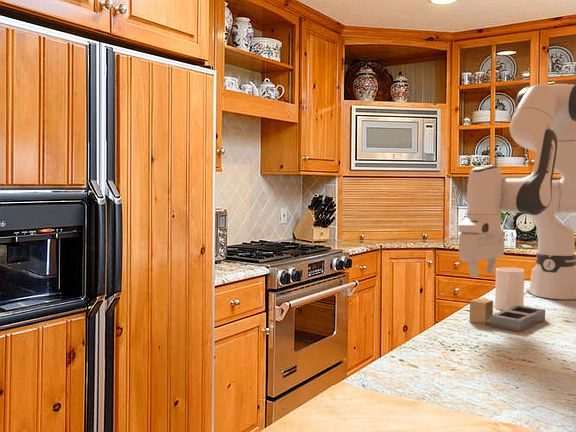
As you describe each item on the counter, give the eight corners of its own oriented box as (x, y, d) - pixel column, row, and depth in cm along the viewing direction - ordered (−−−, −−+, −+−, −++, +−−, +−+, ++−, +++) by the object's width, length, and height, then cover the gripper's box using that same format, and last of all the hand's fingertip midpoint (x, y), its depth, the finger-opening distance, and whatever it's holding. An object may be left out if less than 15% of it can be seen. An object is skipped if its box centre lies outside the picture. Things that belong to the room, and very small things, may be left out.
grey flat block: (516, 315, 159) (516, 305, 159) (545, 320, 154) (545, 309, 153) (490, 326, 147) (490, 315, 147) (520, 332, 142) (520, 321, 141)
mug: (520, 315, 160) (521, 274, 159) (489, 311, 164) (490, 271, 163) (526, 306, 170) (527, 268, 169) (497, 303, 174) (498, 266, 173)
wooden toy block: (477, 319, 155) (477, 298, 155) (492, 322, 152) (493, 300, 152) (469, 322, 152) (470, 300, 152) (485, 325, 149) (485, 303, 149)
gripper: (489, 222, 160) (488, 269, 161) (454, 225, 145) (453, 277, 146) (510, 223, 155) (509, 272, 156) (477, 227, 141) (476, 280, 142)
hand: (482, 274), depth 151 cm, fingers open, 8 cm apart
